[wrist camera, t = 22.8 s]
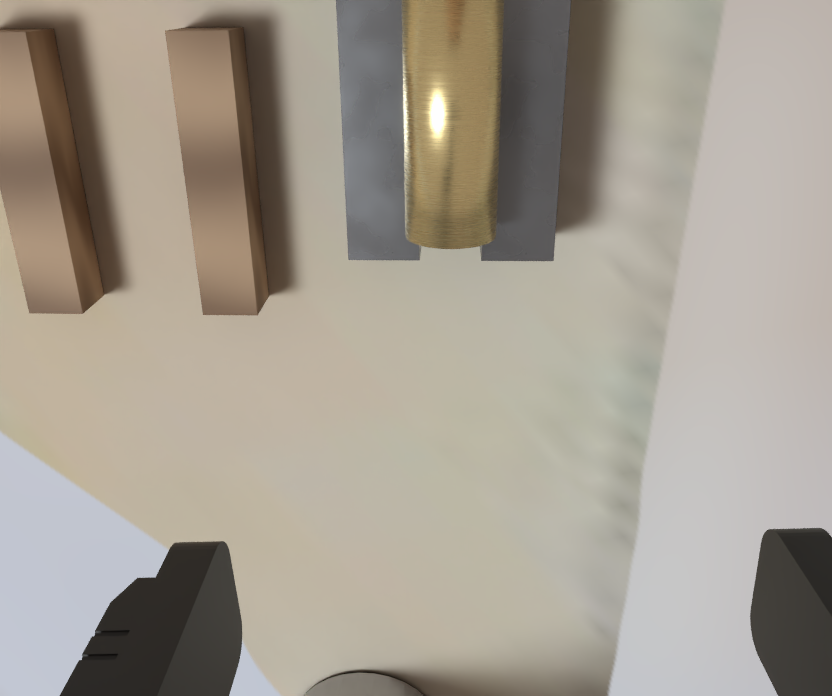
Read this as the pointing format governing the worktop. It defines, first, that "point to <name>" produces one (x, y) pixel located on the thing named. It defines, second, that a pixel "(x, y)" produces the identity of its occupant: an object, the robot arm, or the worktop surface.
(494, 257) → the v block
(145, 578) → the robot arm
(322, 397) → the worktop surface
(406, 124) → the axle
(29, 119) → the parallel bars
